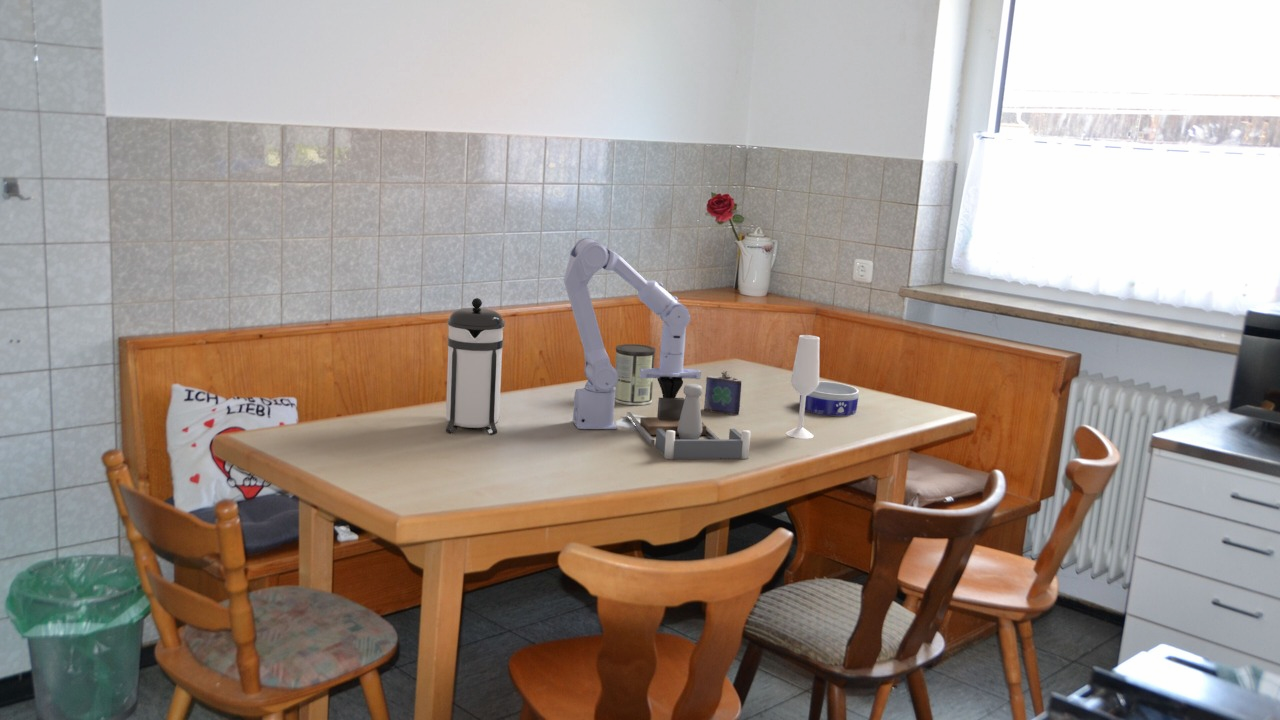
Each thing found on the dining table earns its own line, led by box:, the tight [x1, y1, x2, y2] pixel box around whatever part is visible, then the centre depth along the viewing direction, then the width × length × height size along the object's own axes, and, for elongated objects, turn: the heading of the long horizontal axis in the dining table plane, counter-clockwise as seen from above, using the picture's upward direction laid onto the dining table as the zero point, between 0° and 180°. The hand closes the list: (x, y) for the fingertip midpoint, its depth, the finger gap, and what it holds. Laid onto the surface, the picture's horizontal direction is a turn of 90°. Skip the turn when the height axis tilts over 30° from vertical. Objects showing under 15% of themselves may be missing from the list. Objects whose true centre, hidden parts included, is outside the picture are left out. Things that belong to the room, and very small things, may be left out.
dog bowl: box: [799, 380, 860, 417], centre depth 292 cm, size 15×15×6 cm
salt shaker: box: [677, 383, 703, 439], centre depth 253 cm, size 6×6×13 cm
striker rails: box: [626, 411, 720, 446], centre depth 260 cm, size 16×24×1 cm
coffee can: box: [614, 343, 657, 406], centre depth 285 cm, size 10×10×14 cm
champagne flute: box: [785, 334, 821, 440], centre depth 262 cm, size 7×7×24 cm
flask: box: [703, 370, 742, 416], centre depth 280 cm, size 9×3×11 cm, turn 71°
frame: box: [655, 428, 751, 460], centre depth 244 cm, size 19×10×6 cm, turn 104°
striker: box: [639, 397, 707, 436], centre depth 259 cm, size 14×8×7 cm, turn 104°
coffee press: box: [445, 297, 506, 436], centre depth 249 cm, size 17×16×30 cm
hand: (668, 407), depth 264 cm, fingers closed, pressing on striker
